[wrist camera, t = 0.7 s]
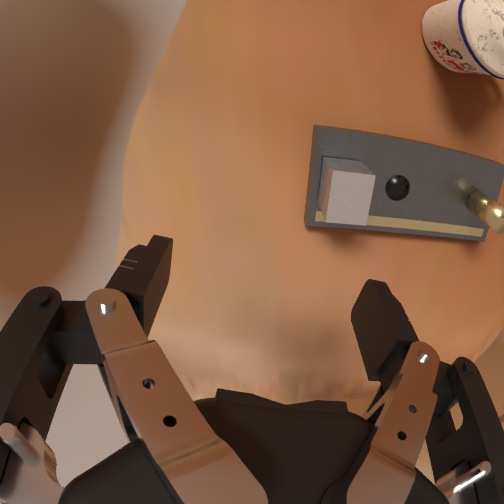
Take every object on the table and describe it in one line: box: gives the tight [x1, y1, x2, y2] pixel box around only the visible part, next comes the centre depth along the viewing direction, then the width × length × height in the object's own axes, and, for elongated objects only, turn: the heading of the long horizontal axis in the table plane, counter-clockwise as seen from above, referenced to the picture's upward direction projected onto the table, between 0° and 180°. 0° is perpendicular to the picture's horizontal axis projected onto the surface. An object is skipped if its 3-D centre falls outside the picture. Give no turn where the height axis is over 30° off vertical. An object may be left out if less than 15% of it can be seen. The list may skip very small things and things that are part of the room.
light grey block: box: [318, 157, 376, 226], centre depth 29 cm, size 4×5×5 cm
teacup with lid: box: [422, 0, 504, 79], centre depth 18 cm, size 12×9×12 cm
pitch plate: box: [304, 125, 504, 241], centre depth 29 cm, size 26×11×8 cm, turn 88°
